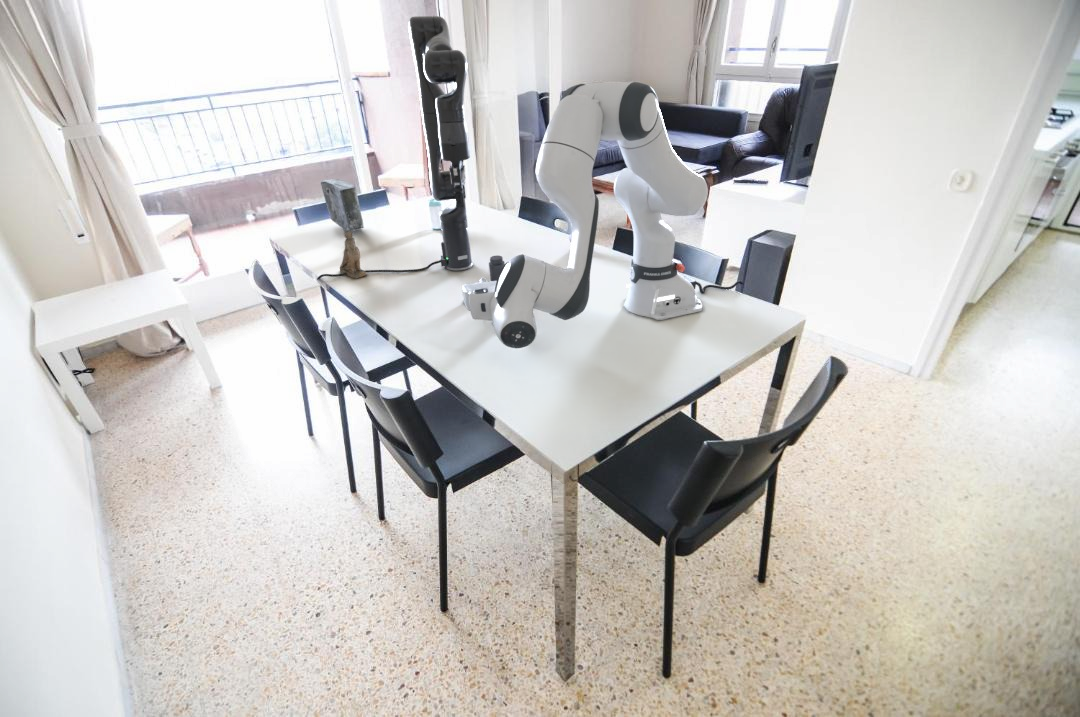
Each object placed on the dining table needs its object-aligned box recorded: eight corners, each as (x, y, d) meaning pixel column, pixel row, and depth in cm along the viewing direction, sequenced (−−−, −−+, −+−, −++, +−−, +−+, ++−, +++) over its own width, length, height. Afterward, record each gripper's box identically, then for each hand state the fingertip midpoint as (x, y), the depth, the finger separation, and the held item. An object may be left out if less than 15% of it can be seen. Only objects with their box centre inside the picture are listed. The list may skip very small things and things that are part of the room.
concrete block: (369, 233, 219) (358, 186, 208) (349, 237, 215) (337, 190, 204) (349, 220, 237) (339, 177, 227) (331, 224, 233) (319, 180, 223)
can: (445, 229, 220) (441, 202, 214) (429, 230, 220) (425, 202, 214) (447, 224, 226) (444, 198, 220) (432, 225, 226) (428, 198, 220)
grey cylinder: (491, 323, 141) (485, 258, 131) (500, 317, 144) (494, 253, 134) (503, 327, 139) (497, 261, 129) (512, 321, 142) (507, 256, 132)
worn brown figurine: (368, 281, 178) (362, 235, 166) (353, 285, 175) (347, 238, 163) (352, 266, 184) (346, 221, 172) (338, 270, 181) (331, 224, 169)
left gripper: (441, 136, 136) (449, 197, 144) (436, 144, 124) (445, 210, 132) (469, 135, 136) (475, 195, 145) (467, 143, 124) (473, 208, 133)
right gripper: (553, 284, 111) (543, 262, 122) (462, 294, 108) (459, 271, 120) (554, 309, 114) (544, 285, 126) (465, 320, 112) (463, 294, 123)
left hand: (461, 202), depth 138 cm, fingers open, 8 cm apart
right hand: (502, 278), depth 123 cm, fingers open, 8 cm apart
